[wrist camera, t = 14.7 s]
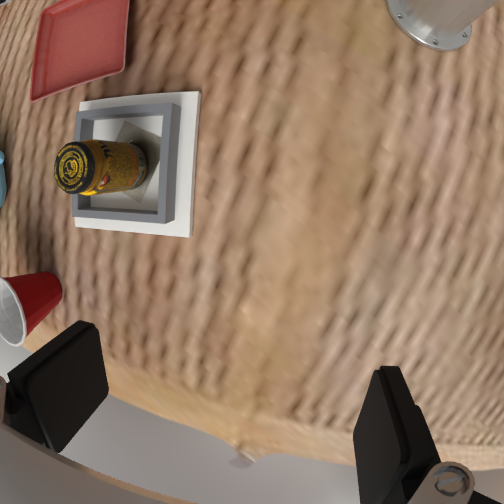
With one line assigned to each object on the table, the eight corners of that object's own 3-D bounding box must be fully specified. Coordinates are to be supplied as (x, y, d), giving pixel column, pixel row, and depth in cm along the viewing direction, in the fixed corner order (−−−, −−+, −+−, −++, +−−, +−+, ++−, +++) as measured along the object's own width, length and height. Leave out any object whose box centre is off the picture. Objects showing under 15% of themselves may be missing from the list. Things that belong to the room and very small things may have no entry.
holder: (85, 103, 38) (67, 99, 34) (201, 93, 36) (190, 85, 32) (79, 225, 43) (62, 230, 39) (192, 235, 41) (180, 242, 37)
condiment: (100, 178, 39) (39, 184, 28) (125, 120, 37) (67, 107, 26) (141, 203, 39) (85, 216, 28) (169, 142, 37) (118, 133, 26)
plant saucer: (141, -22, 33) (132, -31, 30) (135, 77, 37) (123, 71, 34) (52, 15, 36) (41, 9, 32) (42, 106, 40) (29, 104, 37)
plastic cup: (35, 243, 45) (-17, 262, 34) (79, 277, 45) (28, 305, 34) (26, 294, 48) (-19, 318, 37) (66, 328, 48) (23, 360, 37)
